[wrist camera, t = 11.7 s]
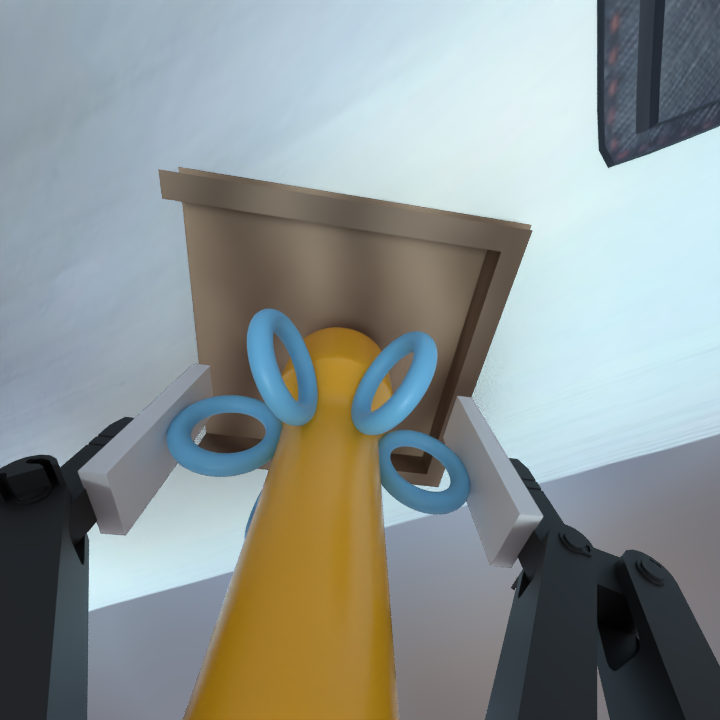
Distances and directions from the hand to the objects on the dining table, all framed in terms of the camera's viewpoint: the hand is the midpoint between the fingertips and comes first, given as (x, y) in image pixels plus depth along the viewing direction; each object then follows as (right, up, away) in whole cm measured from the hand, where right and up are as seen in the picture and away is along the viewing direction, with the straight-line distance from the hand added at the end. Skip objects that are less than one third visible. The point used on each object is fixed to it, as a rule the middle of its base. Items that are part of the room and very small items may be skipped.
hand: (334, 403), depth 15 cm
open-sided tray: (0, +3, +6) cm, 7 cm away
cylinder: (0, +2, +3) cm, 4 cm away
